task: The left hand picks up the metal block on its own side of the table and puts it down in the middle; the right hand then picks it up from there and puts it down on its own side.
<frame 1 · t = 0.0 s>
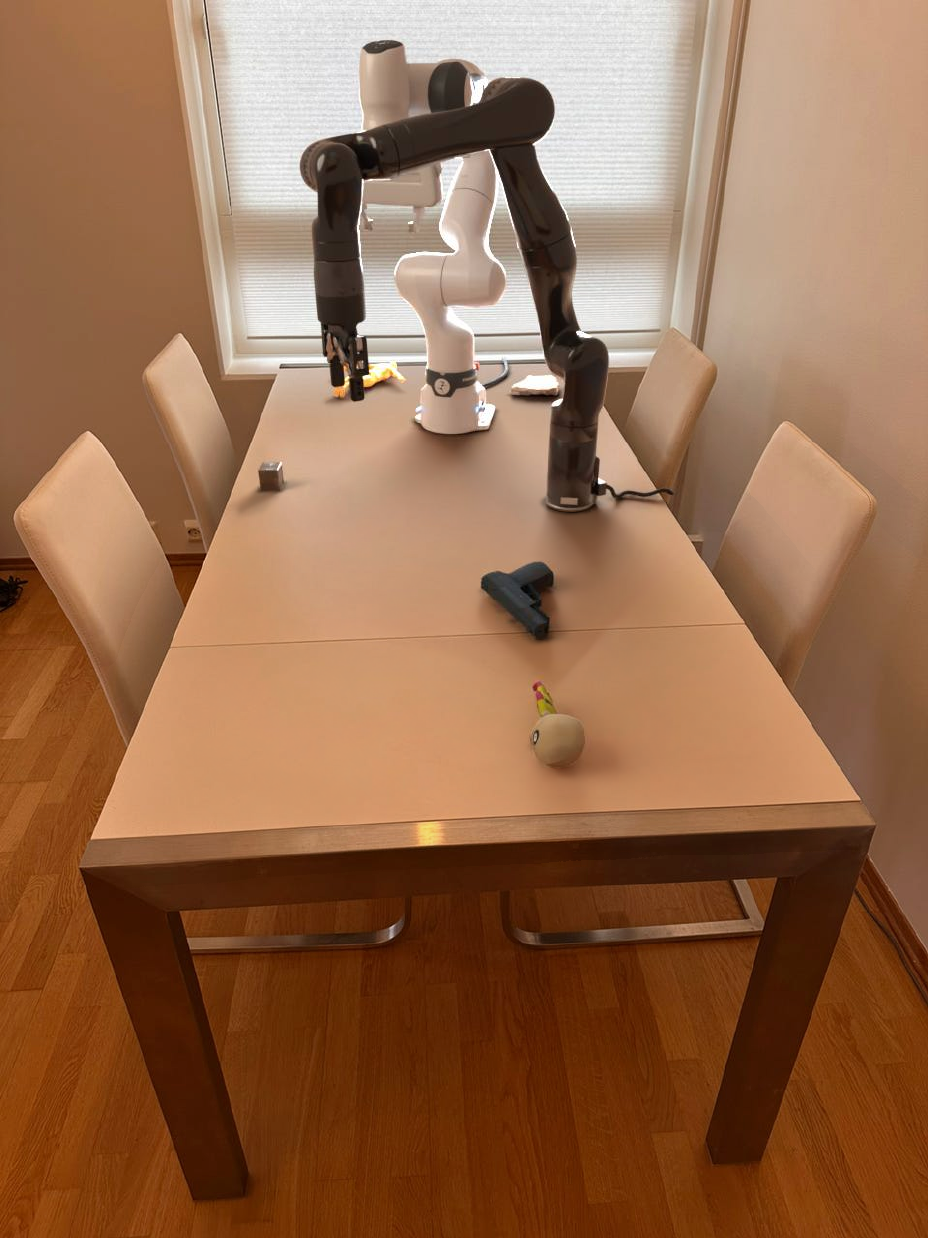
left hand: (390, 231, 167), 48 cm above the table, tool pointing down, fingers open, 8 cm apart
right hand: (347, 393, 145), 29 cm above the table, tool pointing down, fingers open, 8 cm apart
stone: (533, 391, 238), on the table
toy: (551, 738, 116), on the table
human figure: (368, 385, 244), on the table
block: (272, 486, 186), on the table
handgun: (534, 607, 144), on the table
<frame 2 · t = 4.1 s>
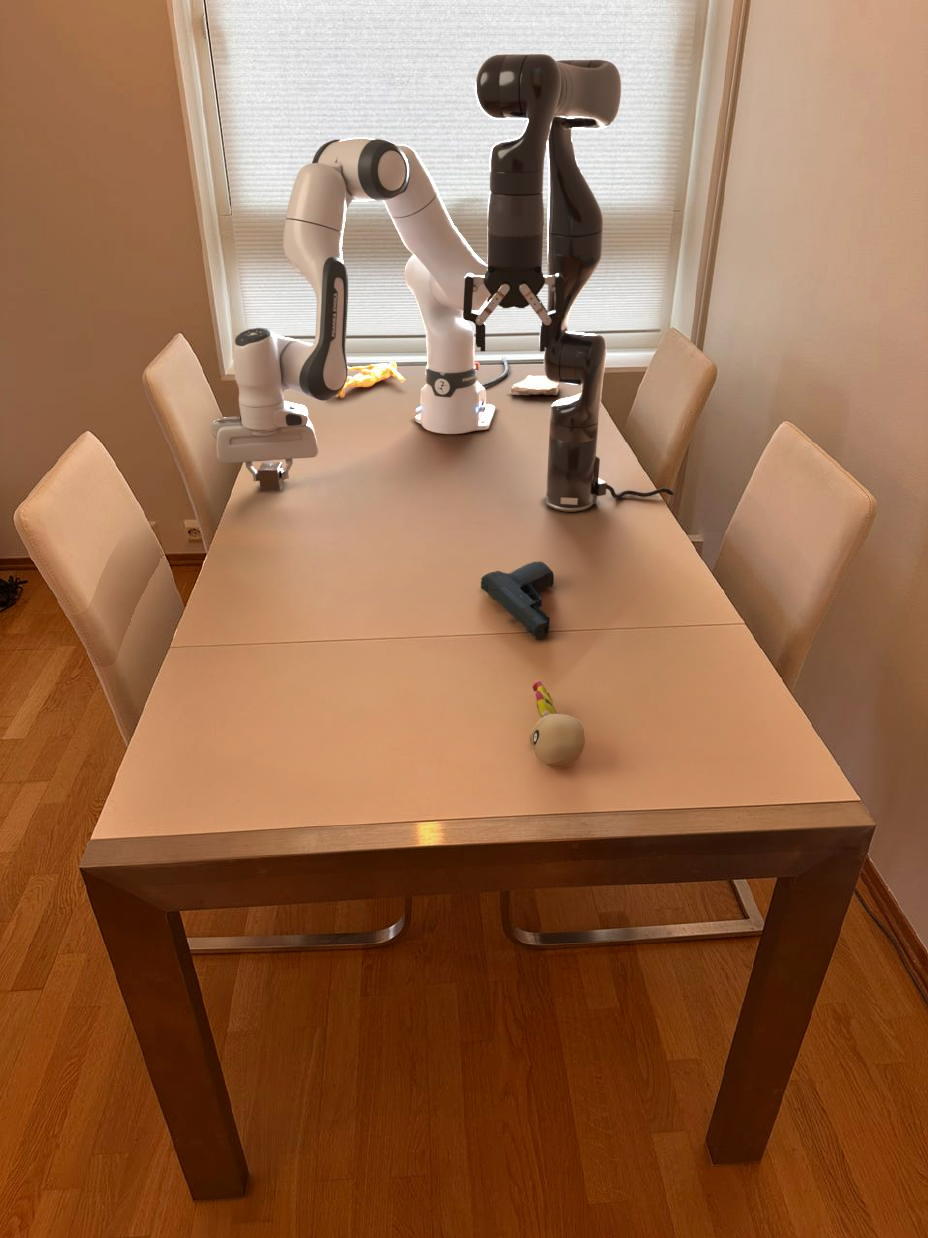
left hand: (271, 479, 185), 2 cm above the table, tool pointing down, fingers closed on block, 4 cm apart
right hand: (512, 350, 129), 40 cm above the table, tool pointing down, fingers open, 8 cm apart
block: (272, 486, 186), on the table, touching left hand
everything else where it was.
when the left hand's fingers open (3 cm above the table, at t = 8.8 s): block stays where it is, on the table.
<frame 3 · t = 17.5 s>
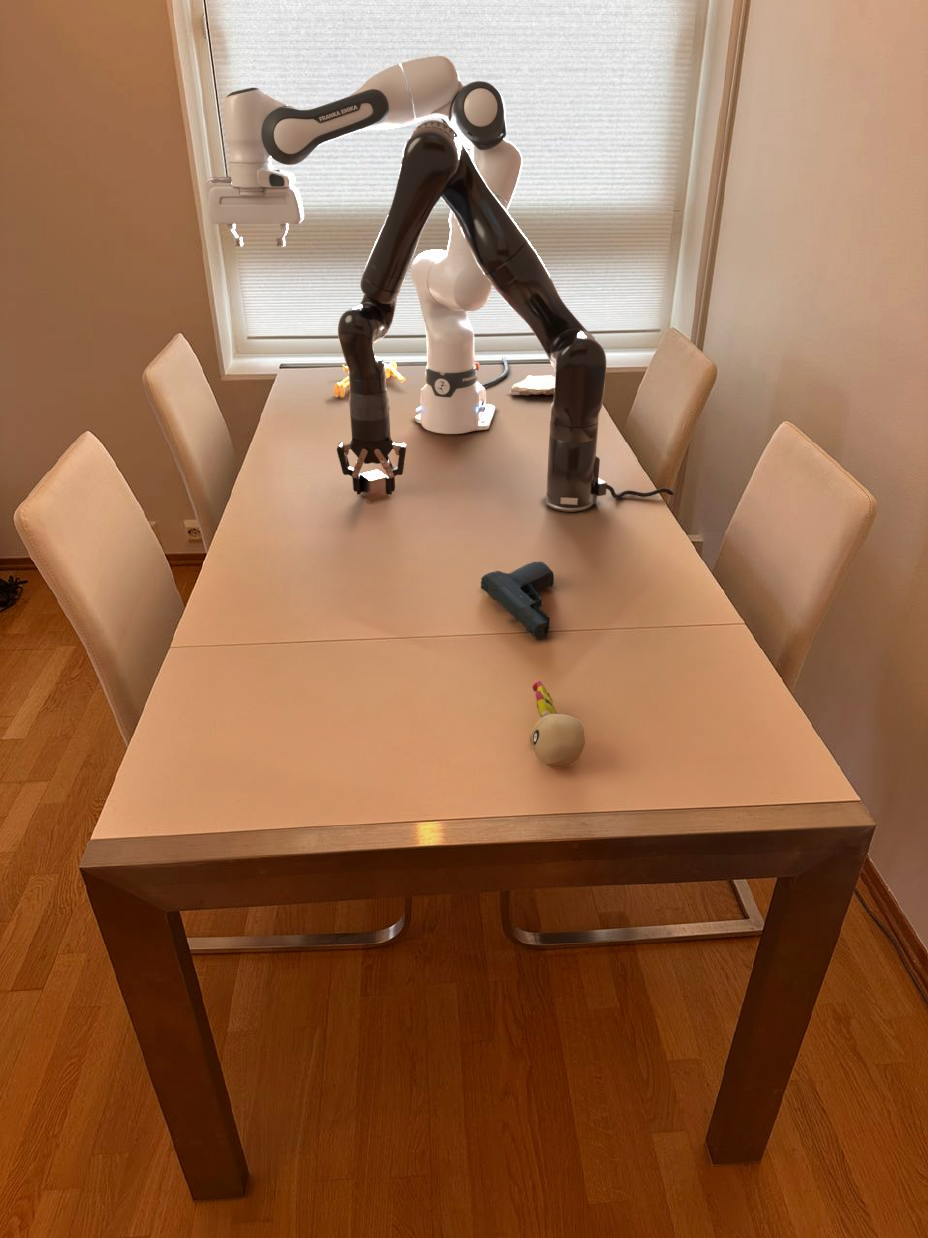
left hand: (260, 245, 197), 41 cm above the table, tool pointing down, fingers open, 8 cm apart
right hand: (374, 492, 181), 1 cm above the table, tool pointing down, fingers closed on block, 5 cm apart
block: (375, 496, 181), on the table, touching right hand
everything else where it was.
when the right hand's fingers open (2 cm above the table, at t = 29.1 s): block stays where it is, on the table.
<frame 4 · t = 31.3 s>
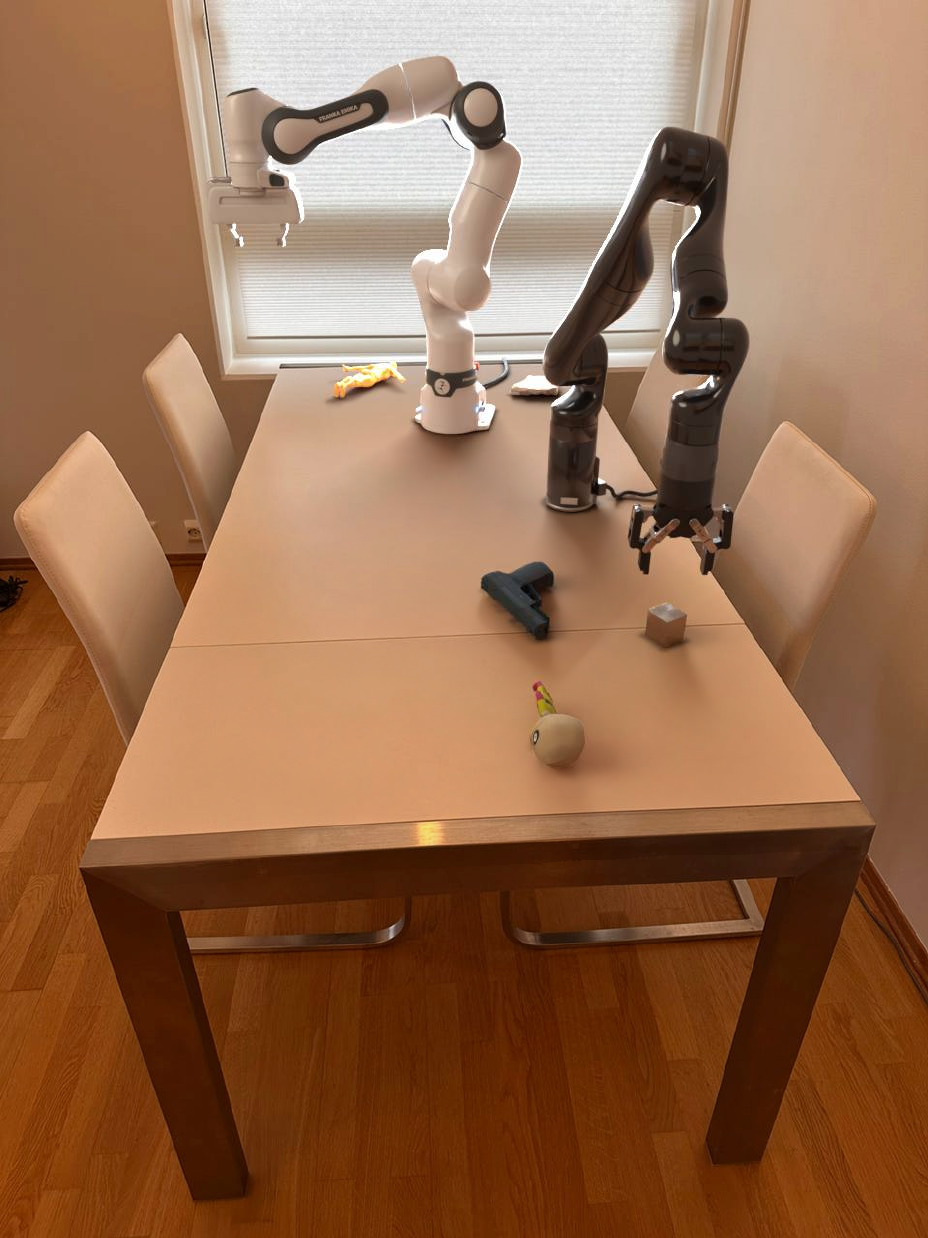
left hand: (260, 245, 197), 41 cm above the table, tool pointing down, fingers open, 8 cm apart
right hand: (674, 572, 130), 11 cm above the table, tool pointing down, fingers open, 8 cm apart
block: (664, 637, 136), on the table
everything else where it was.
at the end: block inside the target area (0.2 cm from its centre), on the table; block tilted 0°; the two hands never held the block at the same time; the left hand is holding nothing; the right hand is holding nothing; block at rest at the end (0.0 cm/s) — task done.
